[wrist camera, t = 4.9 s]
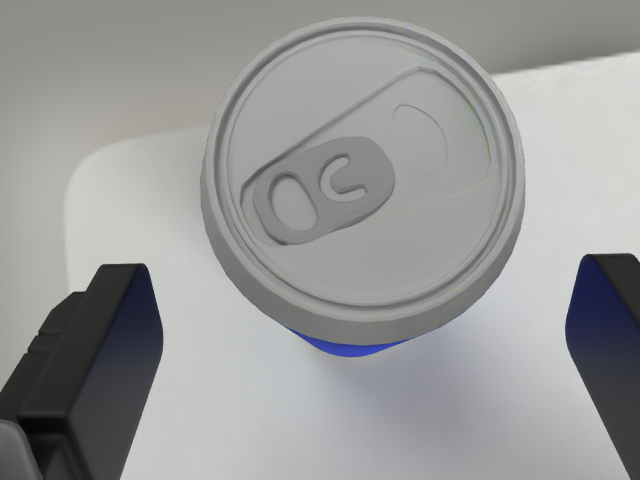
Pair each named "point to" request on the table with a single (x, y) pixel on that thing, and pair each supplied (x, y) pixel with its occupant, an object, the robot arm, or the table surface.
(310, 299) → the beverage can
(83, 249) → the table surface
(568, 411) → the table surface
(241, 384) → the table surface
